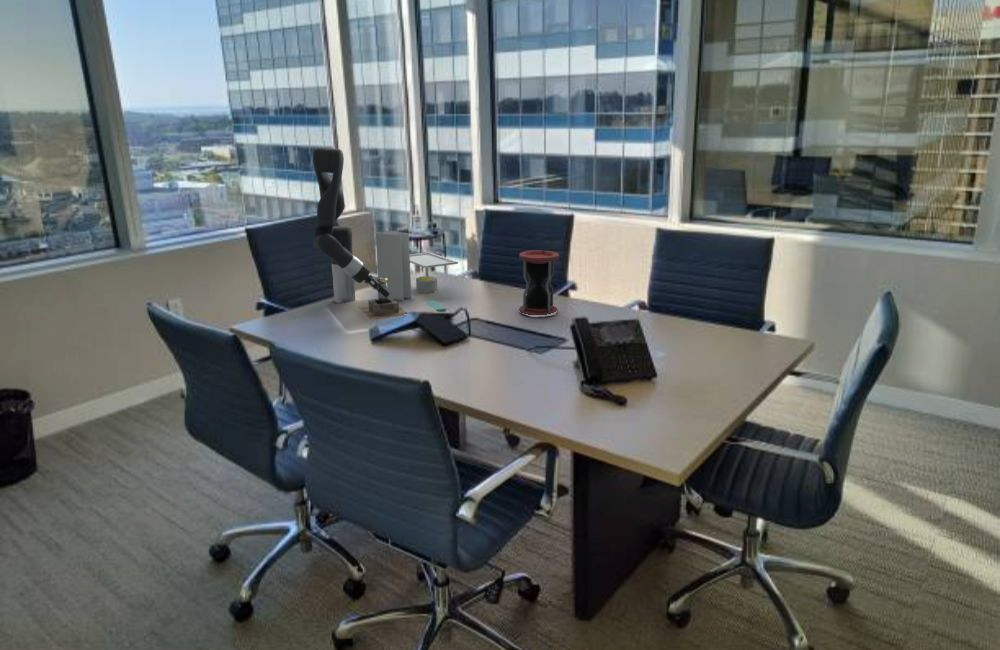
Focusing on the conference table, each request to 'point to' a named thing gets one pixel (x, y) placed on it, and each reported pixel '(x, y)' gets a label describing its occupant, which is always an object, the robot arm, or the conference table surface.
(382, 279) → the steel peg
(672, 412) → the conference table surface
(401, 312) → the eye block
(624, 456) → the conference table surface
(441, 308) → the rubber mat
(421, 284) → the solar panel model
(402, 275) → the tall grey pillar
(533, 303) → the hourglass
